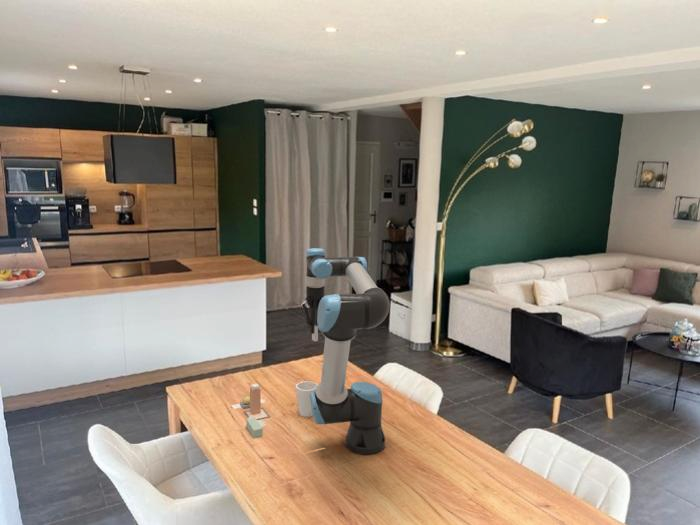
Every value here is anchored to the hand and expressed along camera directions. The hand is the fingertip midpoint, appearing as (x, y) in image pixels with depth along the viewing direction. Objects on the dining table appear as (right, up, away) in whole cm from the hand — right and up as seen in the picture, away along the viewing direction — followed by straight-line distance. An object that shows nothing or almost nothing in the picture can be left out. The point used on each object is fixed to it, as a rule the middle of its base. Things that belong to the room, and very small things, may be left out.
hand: (314, 340), depth 219 cm
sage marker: (-22, -33, -18) cm, 43 cm away
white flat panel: (-23, -31, -5) cm, 39 cm away
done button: (-29, -27, +3) cm, 40 cm away
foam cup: (-3, -31, -2) cm, 32 cm away
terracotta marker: (-25, -30, -2) cm, 39 cm away
